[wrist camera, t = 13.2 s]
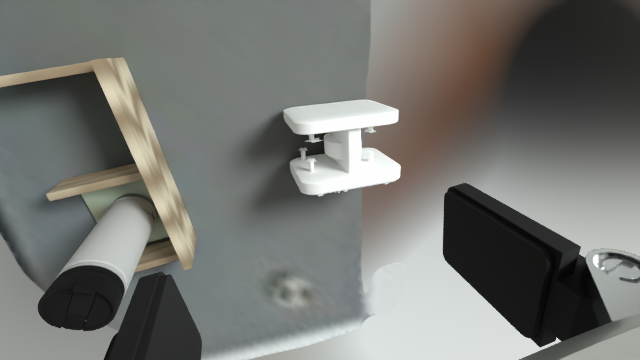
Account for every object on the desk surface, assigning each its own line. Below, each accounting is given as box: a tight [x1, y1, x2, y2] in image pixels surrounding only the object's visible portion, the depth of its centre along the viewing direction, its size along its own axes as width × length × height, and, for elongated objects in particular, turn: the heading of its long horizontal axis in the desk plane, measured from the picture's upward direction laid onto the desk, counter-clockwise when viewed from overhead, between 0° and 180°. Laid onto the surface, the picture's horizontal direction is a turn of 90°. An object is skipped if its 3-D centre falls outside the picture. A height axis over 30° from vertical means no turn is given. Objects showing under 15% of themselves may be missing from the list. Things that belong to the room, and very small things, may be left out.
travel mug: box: [38, 194, 158, 331], centre depth 36 cm, size 6×7×20 cm
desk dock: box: [0, 57, 197, 273], centre depth 39 cm, size 28×13×8 cm, turn 9°
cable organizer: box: [283, 100, 400, 196], centre depth 44 cm, size 15×11×12 cm
